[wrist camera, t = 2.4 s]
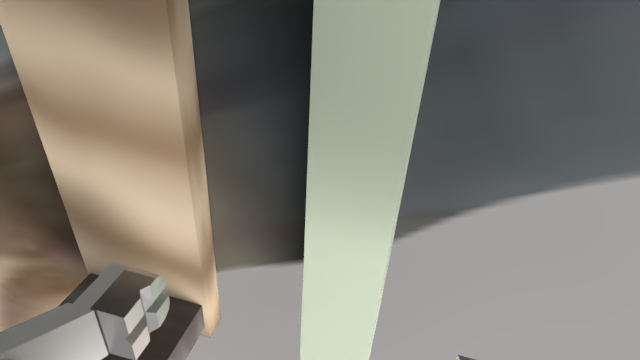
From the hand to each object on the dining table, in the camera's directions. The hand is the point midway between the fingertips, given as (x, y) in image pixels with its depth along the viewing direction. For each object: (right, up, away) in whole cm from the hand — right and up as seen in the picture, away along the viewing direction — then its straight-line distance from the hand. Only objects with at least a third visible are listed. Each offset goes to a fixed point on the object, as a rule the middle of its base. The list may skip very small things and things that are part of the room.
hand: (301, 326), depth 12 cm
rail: (+3, +5, +7) cm, 9 cm away
